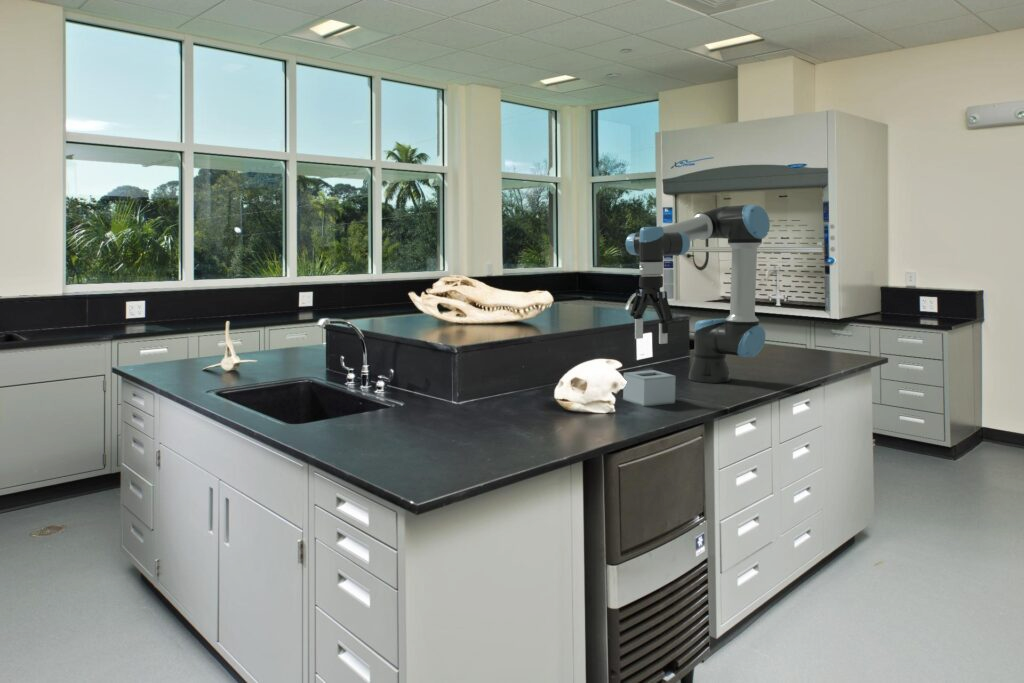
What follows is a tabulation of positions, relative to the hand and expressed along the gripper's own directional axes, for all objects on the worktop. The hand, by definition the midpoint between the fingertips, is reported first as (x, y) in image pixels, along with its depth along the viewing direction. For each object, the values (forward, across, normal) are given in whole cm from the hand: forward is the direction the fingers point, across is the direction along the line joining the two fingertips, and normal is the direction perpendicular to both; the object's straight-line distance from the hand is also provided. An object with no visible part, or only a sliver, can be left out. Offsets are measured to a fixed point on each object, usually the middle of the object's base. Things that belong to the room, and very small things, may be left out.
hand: (650, 341), depth 245 cm
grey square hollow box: (+20, 0, -1) cm, 20 cm away
